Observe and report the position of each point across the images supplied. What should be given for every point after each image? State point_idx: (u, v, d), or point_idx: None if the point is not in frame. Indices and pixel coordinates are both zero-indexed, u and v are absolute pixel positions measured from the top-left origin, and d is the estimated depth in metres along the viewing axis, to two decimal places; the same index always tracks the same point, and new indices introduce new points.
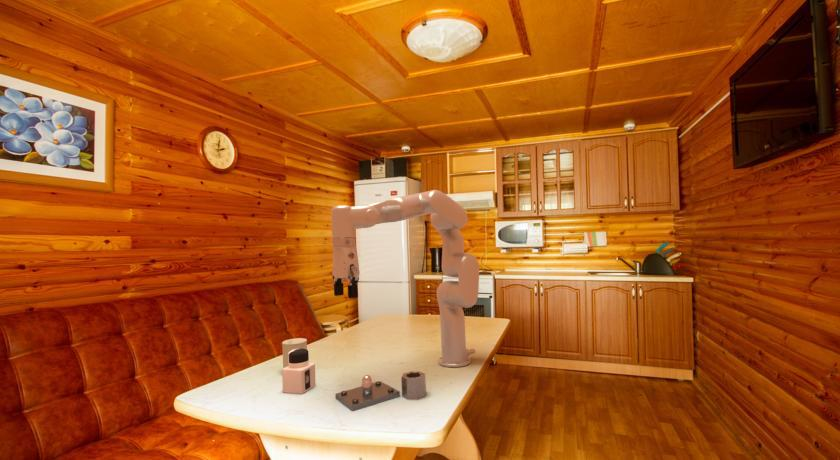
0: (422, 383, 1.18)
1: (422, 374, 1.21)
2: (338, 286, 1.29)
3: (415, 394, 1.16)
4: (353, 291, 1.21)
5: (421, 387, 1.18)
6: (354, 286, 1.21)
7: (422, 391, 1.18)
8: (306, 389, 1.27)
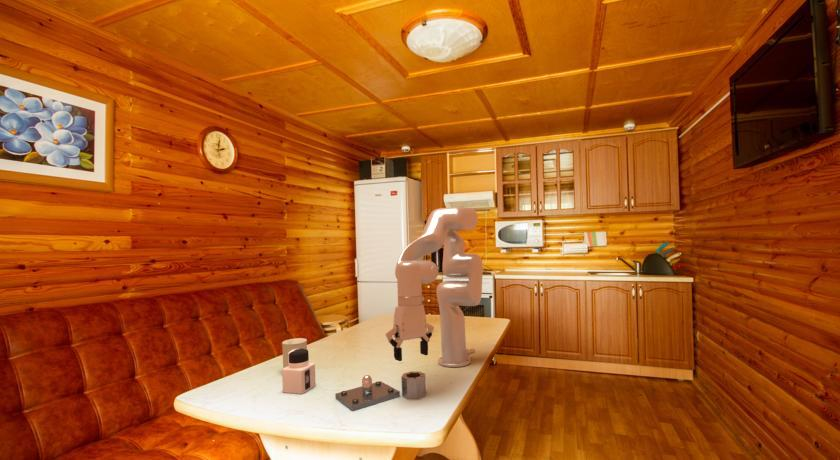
0: (422, 383, 1.18)
1: (422, 374, 1.21)
2: None
3: (415, 394, 1.16)
4: None
5: (421, 387, 1.18)
6: None
7: (422, 391, 1.18)
8: (306, 389, 1.27)
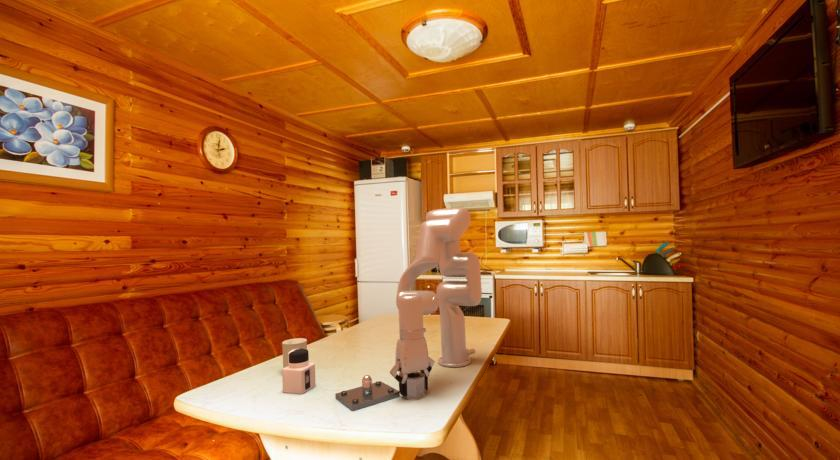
0: (422, 383, 1.18)
1: (422, 374, 1.21)
2: None
3: (415, 394, 1.16)
4: None
5: (421, 387, 1.18)
6: None
7: (422, 391, 1.18)
8: (306, 389, 1.27)
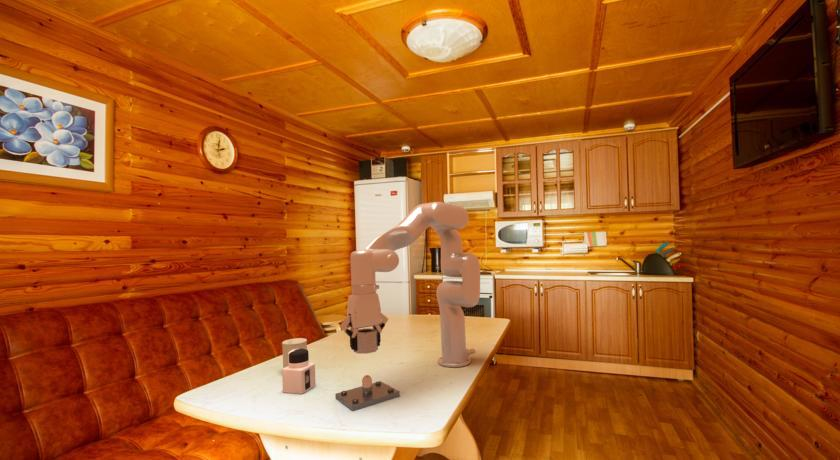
0: (373, 338, 1.18)
1: (374, 330, 1.21)
2: None
3: (365, 348, 1.16)
4: None
5: (372, 342, 1.18)
6: None
7: (373, 346, 1.18)
8: (306, 389, 1.27)
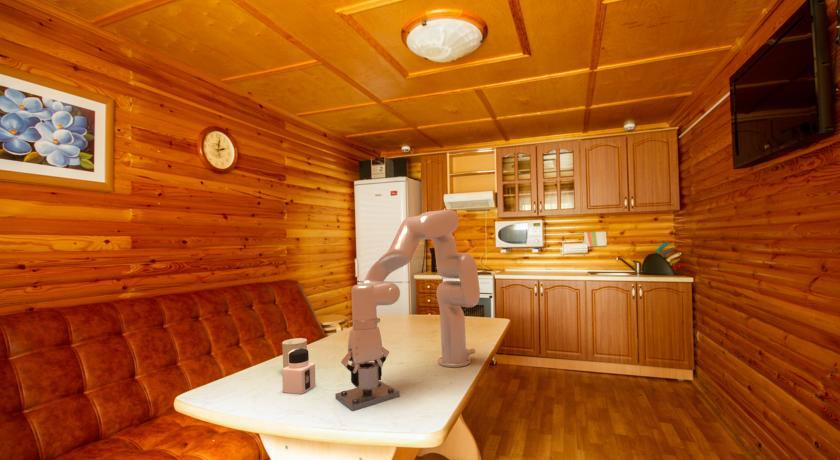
0: (374, 373, 1.17)
1: (375, 364, 1.20)
2: None
3: (366, 384, 1.16)
4: None
5: (373, 377, 1.17)
6: None
7: (374, 381, 1.17)
8: (306, 389, 1.27)
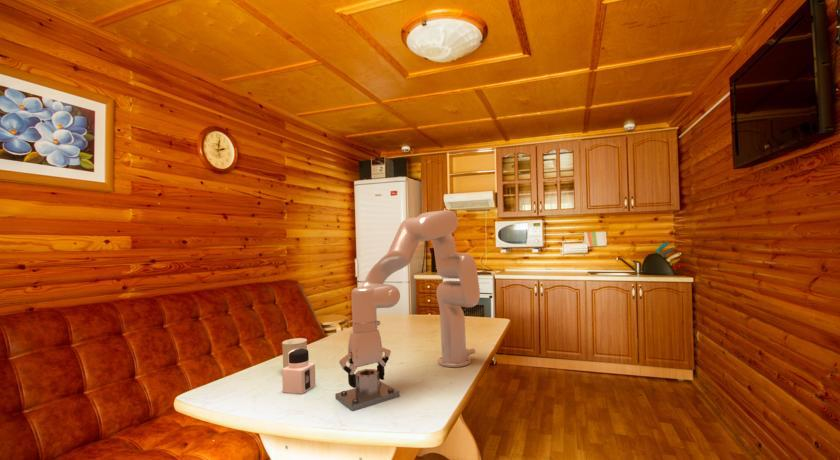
0: (375, 380, 1.18)
1: (376, 372, 1.20)
2: None
3: (367, 391, 1.16)
4: None
5: (374, 384, 1.17)
6: None
7: (375, 389, 1.17)
8: (306, 389, 1.27)
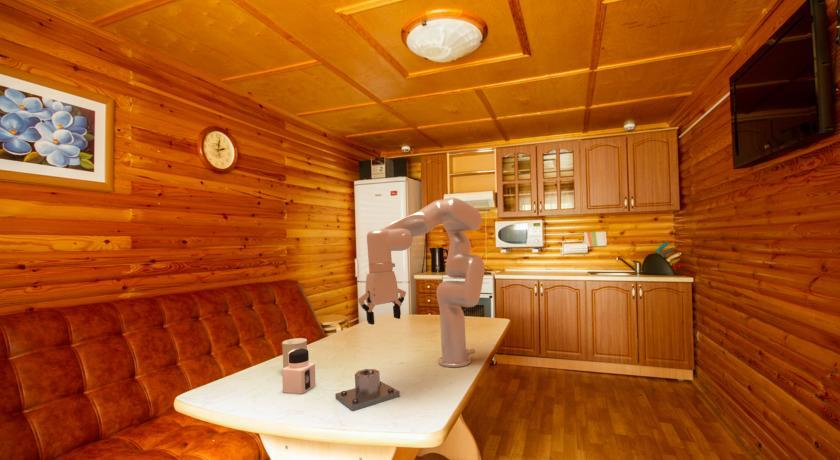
0: (375, 380, 1.18)
1: (376, 372, 1.20)
2: None
3: (367, 391, 1.16)
4: None
5: (374, 384, 1.17)
6: None
7: (375, 389, 1.17)
8: (306, 389, 1.27)
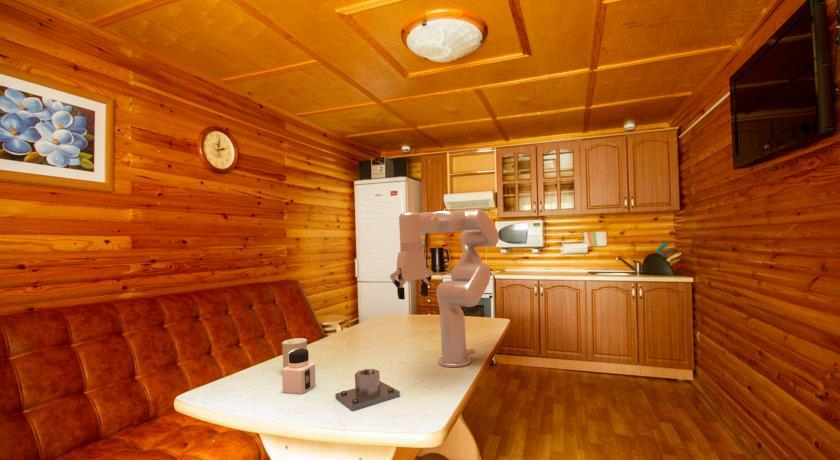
0: (375, 380, 1.18)
1: (376, 372, 1.20)
2: None
3: (367, 391, 1.16)
4: None
5: (374, 384, 1.17)
6: None
7: (375, 389, 1.17)
8: (306, 389, 1.27)
